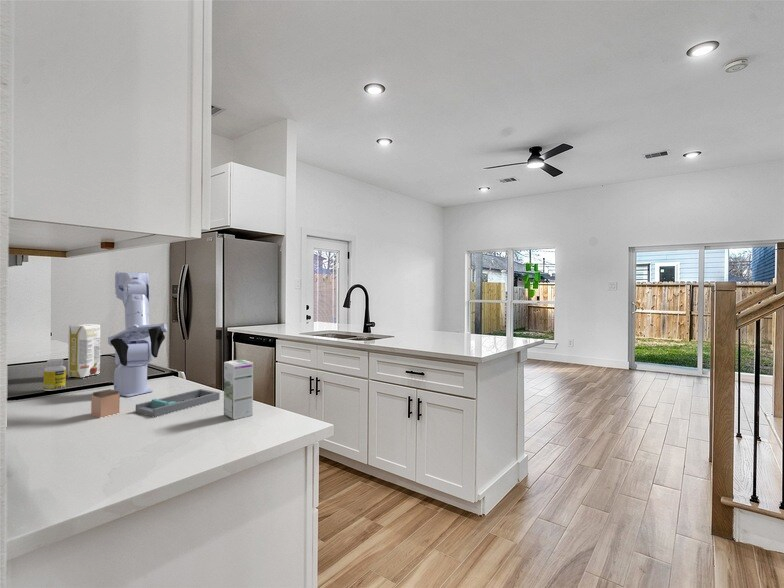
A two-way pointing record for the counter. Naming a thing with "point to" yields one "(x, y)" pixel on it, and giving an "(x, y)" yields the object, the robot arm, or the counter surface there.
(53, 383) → the supplement bottle
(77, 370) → the juice carton
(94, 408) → the tan cardboard cube box
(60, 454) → the counter surface
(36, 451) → the counter surface
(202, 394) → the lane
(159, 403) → the pusher
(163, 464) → the counter surface
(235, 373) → the syrup box
